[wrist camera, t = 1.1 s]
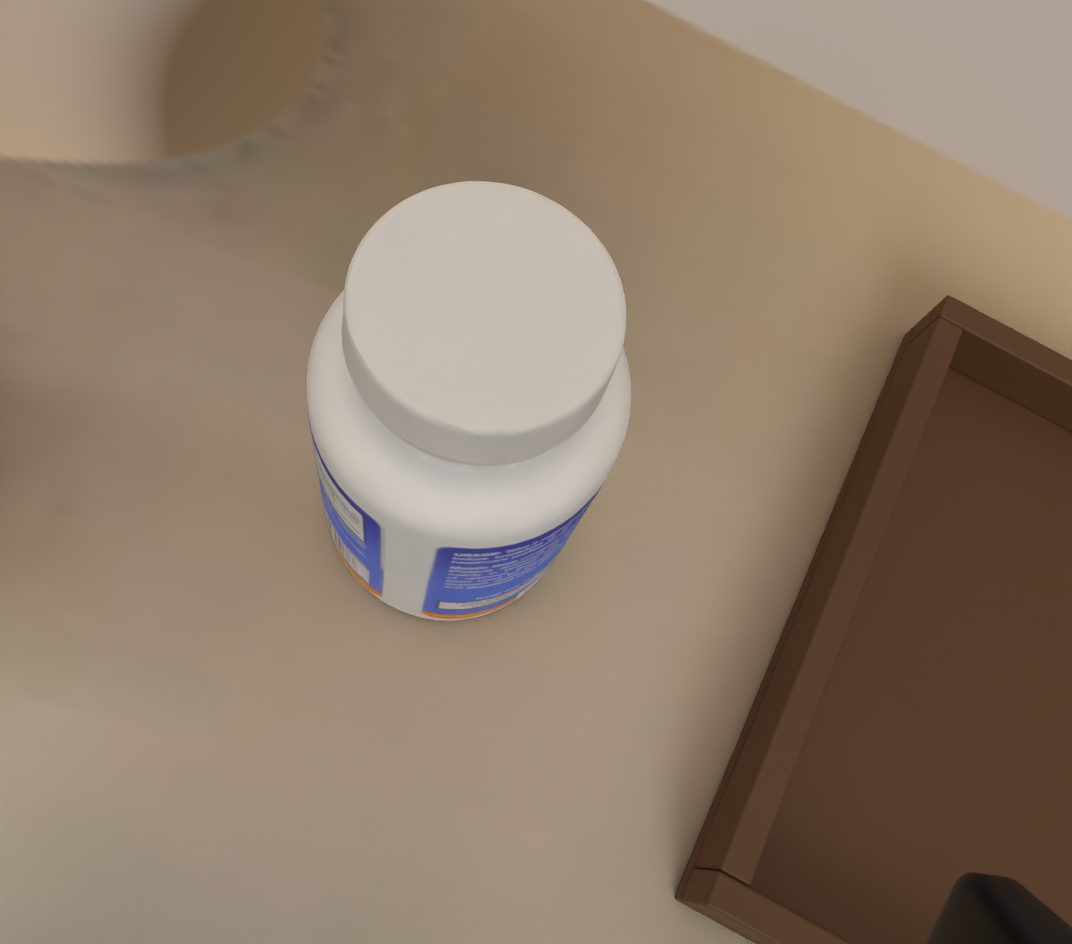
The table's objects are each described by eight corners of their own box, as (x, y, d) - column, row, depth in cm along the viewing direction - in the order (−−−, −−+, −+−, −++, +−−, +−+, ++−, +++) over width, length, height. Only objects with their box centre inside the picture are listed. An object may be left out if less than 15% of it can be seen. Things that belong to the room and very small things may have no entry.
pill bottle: (591, 448, 24) (726, 213, 15) (518, 661, 22) (622, 541, 13) (377, 368, 24) (383, 80, 15) (284, 575, 22) (224, 390, 13)
